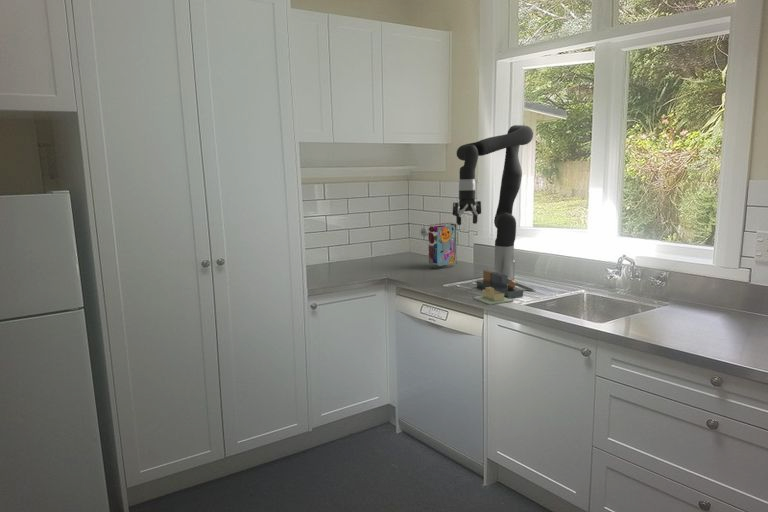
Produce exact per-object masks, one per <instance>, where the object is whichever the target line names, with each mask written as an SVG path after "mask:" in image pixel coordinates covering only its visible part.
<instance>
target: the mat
mask: <svg viewBox="0 0 768 512" xmlns="http://www.w3.org/2000/svg"><path fill="white" fill-rule="evenodd" d="M472 298H473V299H474V300H477V301H479V302H481V303H484V304H486V305H489V306H491V305H498V304H505V303H513V302H514V300H513V299H512V298H510V299H508V298H506V297H504V300H503V301H495V302H494V301H491V300H489V299H486V298H484V297H482V295H479V296H473V297H472Z"/></svg>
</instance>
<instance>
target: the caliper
mask: <svg viewBox="0 0 768 512" xmlns="http://www.w3.org/2000/svg"><path fill="white" fill-rule="evenodd" d="M508 280H511V279H509V278H508ZM507 285H508V281H507ZM515 287H517V288H520V289H522V290H526V291H529V292H537V290H536V289H534V287H531V286H529V285H525V284H523V283H521V282H517V281H515Z"/></svg>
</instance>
